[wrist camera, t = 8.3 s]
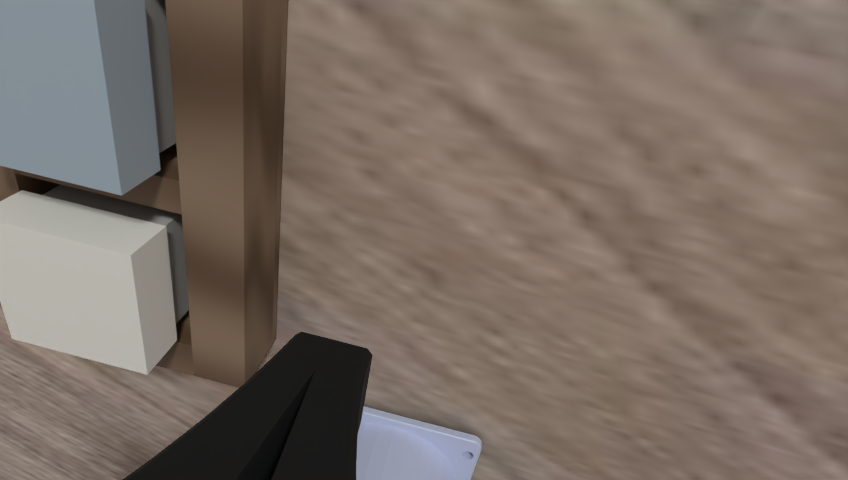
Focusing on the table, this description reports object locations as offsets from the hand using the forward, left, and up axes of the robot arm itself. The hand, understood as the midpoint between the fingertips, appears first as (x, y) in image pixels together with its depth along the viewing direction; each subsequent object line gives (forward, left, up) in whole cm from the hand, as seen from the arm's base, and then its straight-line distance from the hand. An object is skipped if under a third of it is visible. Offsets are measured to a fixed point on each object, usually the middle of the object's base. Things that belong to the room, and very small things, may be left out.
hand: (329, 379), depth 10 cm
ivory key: (-5, +10, -8) cm, 14 cm away
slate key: (+2, +10, -8) cm, 13 cm away
